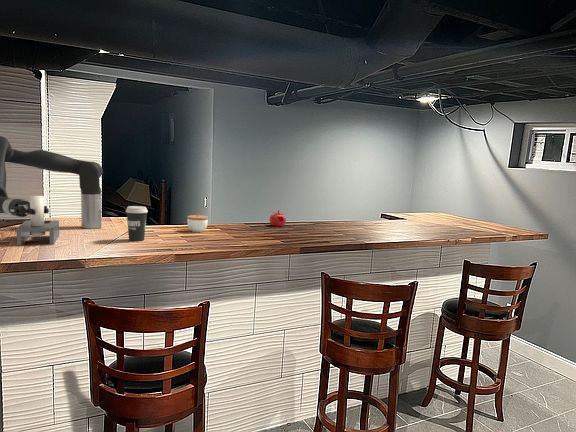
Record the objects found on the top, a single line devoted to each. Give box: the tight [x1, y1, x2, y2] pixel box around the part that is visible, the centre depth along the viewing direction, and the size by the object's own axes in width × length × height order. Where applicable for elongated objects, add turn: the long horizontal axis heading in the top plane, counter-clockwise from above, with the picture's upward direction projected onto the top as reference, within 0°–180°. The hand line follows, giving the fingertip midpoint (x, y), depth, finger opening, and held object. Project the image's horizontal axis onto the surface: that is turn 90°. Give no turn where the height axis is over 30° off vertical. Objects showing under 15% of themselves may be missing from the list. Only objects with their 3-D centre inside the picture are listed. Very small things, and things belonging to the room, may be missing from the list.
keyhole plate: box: [16, 219, 60, 247], centre depth 184 cm, size 20×13×7 cm, turn 22°
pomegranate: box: [269, 209, 287, 228], centre depth 256 cm, size 10×10×9 cm
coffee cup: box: [125, 205, 149, 242], centre depth 194 cm, size 10×10×15 cm
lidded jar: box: [186, 212, 209, 233], centre depth 225 cm, size 11×11×9 cm
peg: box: [29, 195, 46, 237], centre depth 180 cm, size 6×6×16 cm
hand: (41, 211), depth 178 cm, fingers closed on peg, 5 cm apart
